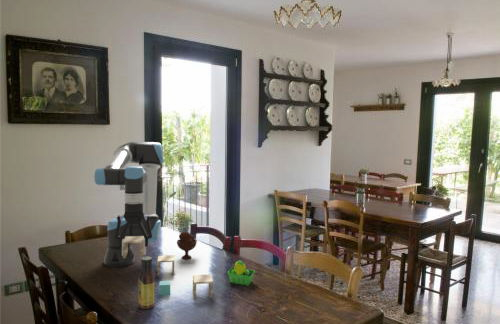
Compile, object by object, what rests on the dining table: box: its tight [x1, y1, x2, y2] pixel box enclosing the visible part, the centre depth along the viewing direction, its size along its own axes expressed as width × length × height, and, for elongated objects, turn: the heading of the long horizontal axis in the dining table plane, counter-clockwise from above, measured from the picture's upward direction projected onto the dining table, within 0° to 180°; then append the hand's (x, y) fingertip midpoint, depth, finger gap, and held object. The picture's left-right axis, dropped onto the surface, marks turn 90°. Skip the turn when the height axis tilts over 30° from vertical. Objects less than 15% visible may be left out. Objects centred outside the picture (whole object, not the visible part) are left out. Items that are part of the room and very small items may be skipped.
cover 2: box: [156, 254, 175, 276], centre depth 187 cm, size 8×8×7 cm
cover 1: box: [123, 236, 144, 259], centre depth 165 cm, size 8×8×7 cm
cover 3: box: [192, 273, 214, 300], centre depth 163 cm, size 8×8×7 cm
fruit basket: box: [227, 260, 255, 286], centre depth 177 cm, size 11×9×11 cm
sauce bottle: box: [137, 255, 156, 310], centre depth 150 cm, size 7×6×20 cm
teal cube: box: [158, 280, 171, 296], centre depth 164 cm, size 4×4×4 cm
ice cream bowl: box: [176, 231, 198, 261], centre depth 208 cm, size 11×11×15 cm
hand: (133, 254), depth 165 cm, fingers closed on cover 1, 8 cm apart
